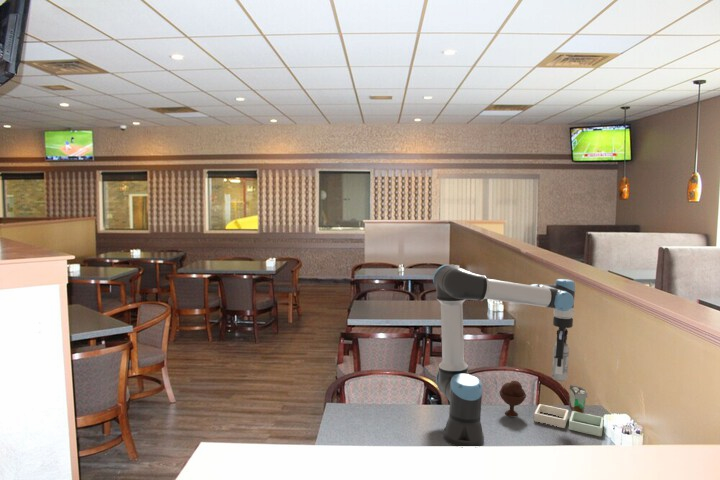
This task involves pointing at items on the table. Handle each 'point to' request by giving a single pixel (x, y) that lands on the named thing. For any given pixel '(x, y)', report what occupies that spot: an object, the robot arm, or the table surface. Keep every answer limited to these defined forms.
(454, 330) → the robot arm
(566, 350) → the energy drink can
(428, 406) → the table surface
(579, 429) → the green bin
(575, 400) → the food container
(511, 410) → the ice cream bowl
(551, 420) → the beige bin
